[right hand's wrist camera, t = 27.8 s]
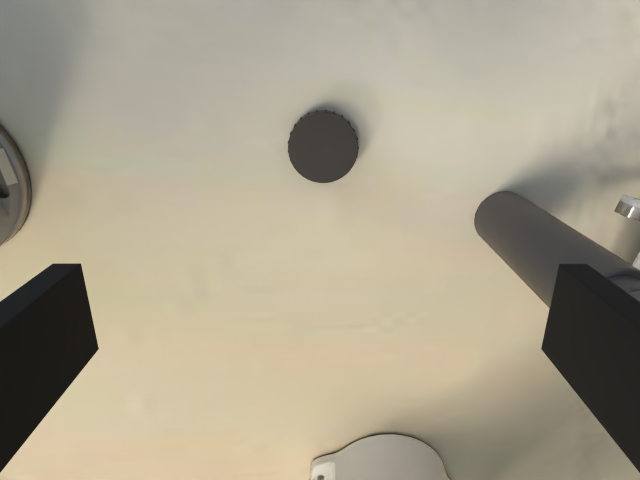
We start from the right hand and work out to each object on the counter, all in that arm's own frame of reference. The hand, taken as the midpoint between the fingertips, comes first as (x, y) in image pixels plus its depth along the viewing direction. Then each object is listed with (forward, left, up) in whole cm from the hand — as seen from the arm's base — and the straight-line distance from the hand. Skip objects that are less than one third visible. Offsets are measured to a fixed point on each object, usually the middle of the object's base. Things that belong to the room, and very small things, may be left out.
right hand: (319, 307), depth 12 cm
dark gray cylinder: (+9, -16, -30) cm, 35 cm away
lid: (0, 0, -28) cm, 28 cm away
